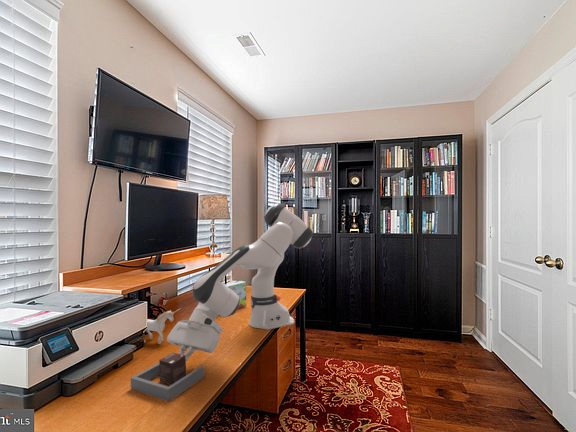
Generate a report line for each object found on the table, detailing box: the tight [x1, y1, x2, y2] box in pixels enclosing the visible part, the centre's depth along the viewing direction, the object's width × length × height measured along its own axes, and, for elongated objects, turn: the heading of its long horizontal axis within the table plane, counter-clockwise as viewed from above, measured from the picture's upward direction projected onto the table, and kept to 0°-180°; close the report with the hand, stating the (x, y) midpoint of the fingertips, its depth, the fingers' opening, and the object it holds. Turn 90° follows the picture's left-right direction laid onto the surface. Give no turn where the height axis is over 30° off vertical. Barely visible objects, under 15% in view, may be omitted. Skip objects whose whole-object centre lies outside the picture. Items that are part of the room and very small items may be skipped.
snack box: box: [224, 280, 247, 310], centre depth 179 cm, size 21×6×15 cm, turn 143°
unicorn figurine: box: [143, 307, 182, 345], centre depth 135 cm, size 7×20×13 cm, turn 93°
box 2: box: [130, 362, 205, 403], centre depth 100 cm, size 15×16×4 cm
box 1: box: [158, 352, 187, 386], centre depth 102 cm, size 6×6×7 cm
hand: (181, 360), depth 106 cm, fingers closed, pressing on box 1
